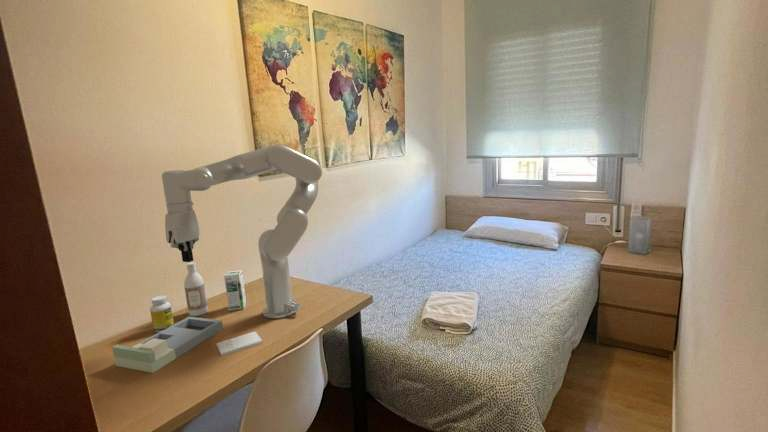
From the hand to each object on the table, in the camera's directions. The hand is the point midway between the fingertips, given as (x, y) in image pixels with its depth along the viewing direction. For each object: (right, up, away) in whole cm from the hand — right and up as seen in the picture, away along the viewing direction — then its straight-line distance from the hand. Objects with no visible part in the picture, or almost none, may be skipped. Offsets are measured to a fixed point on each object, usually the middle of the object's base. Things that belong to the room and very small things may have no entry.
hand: (188, 261), depth 135 cm
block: (-2, -26, -17) cm, 31 cm away
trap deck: (-2, -27, -6) cm, 27 cm away
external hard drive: (+20, -26, -7) cm, 34 cm away
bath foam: (-6, -23, +20) cm, 30 cm away
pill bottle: (-12, -25, +8) cm, 29 cm away
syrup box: (+8, -21, +23) cm, 32 cm away
